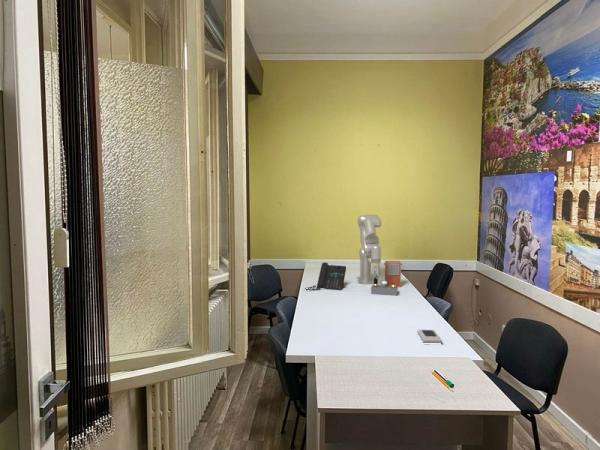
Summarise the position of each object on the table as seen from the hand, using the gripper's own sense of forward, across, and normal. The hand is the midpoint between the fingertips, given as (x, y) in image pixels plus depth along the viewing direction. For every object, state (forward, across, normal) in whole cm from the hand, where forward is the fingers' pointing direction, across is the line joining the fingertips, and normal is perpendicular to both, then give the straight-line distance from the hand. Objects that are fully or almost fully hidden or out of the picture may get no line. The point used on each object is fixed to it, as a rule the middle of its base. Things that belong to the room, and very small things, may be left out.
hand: (375, 283), depth 316 cm
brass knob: (+5, 0, -14) cm, 15 cm away
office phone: (+8, +5, +42) cm, 43 cm away
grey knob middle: (+2, 0, -7) cm, 7 cm away
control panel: (+7, +26, -12) cm, 29 cm away
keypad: (+9, -92, -38) cm, 100 cm away
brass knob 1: (+4, 0, 0) cm, 5 cm away
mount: (+7, 0, -7) cm, 10 cm away
